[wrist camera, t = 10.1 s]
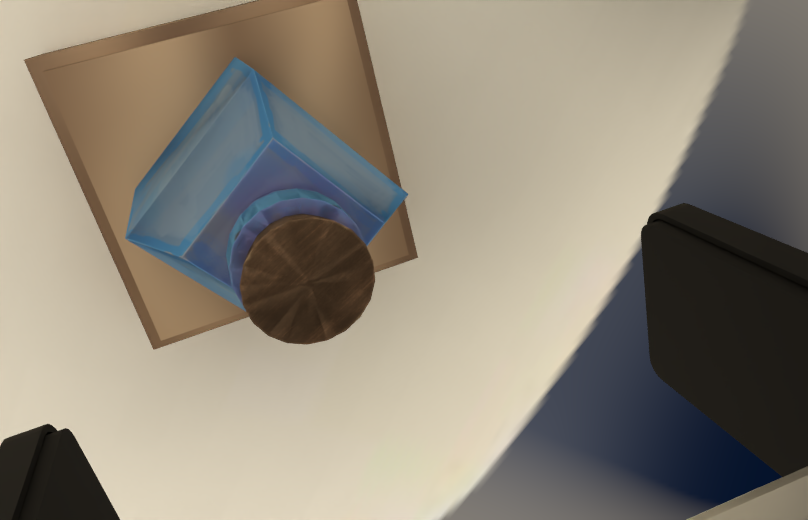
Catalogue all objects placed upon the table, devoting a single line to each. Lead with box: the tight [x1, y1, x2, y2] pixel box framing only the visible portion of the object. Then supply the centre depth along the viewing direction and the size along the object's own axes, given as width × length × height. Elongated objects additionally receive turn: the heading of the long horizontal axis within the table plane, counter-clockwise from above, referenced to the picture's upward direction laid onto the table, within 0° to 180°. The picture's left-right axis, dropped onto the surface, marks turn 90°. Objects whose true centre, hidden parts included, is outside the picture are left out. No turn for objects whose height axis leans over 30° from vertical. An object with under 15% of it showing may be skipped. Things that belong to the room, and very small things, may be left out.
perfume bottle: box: [125, 57, 408, 344], centre depth 21 cm, size 6×6×12 cm
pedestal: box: [24, 0, 418, 349], centre depth 28 cm, size 12×12×4 cm
